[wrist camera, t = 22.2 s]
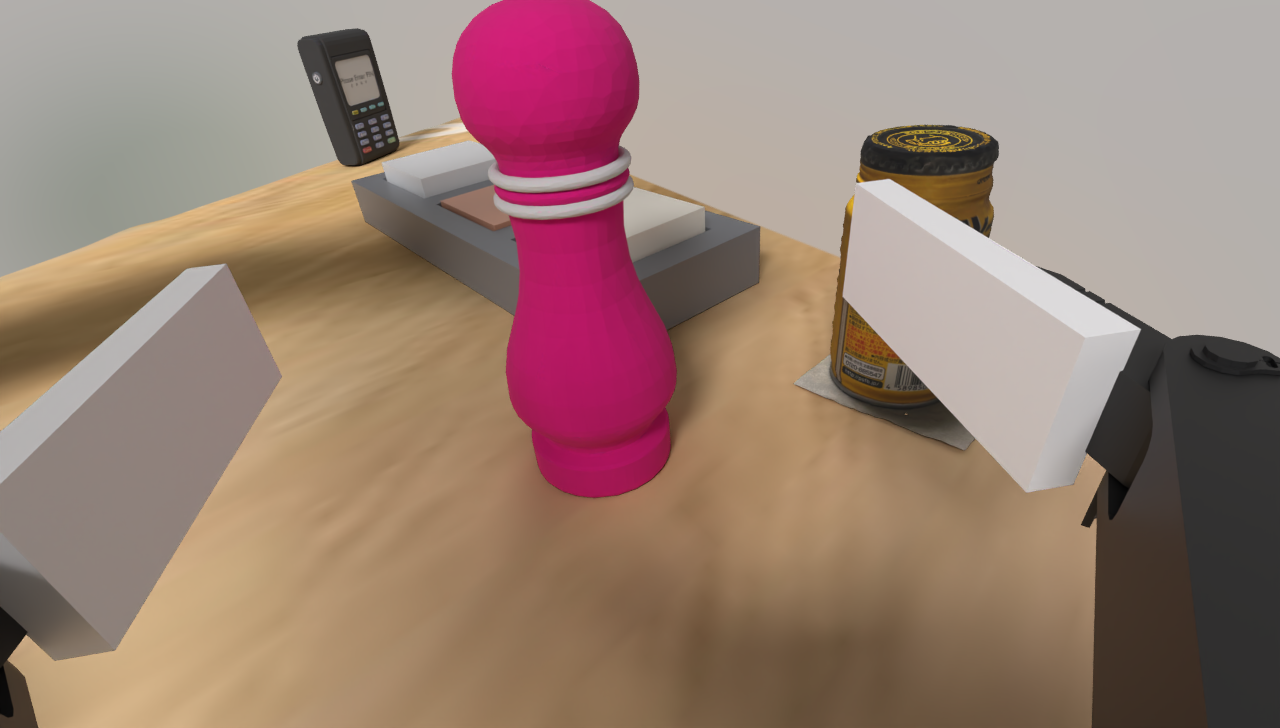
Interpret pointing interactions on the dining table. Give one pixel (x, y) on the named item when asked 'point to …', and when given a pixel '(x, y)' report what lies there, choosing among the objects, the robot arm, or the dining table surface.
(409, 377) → the dining table surface
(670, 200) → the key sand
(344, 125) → the card reader
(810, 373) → the condiment
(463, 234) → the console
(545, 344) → the pepper mill
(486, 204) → the key terracotta
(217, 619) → the dining table surface
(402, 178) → the key grey
